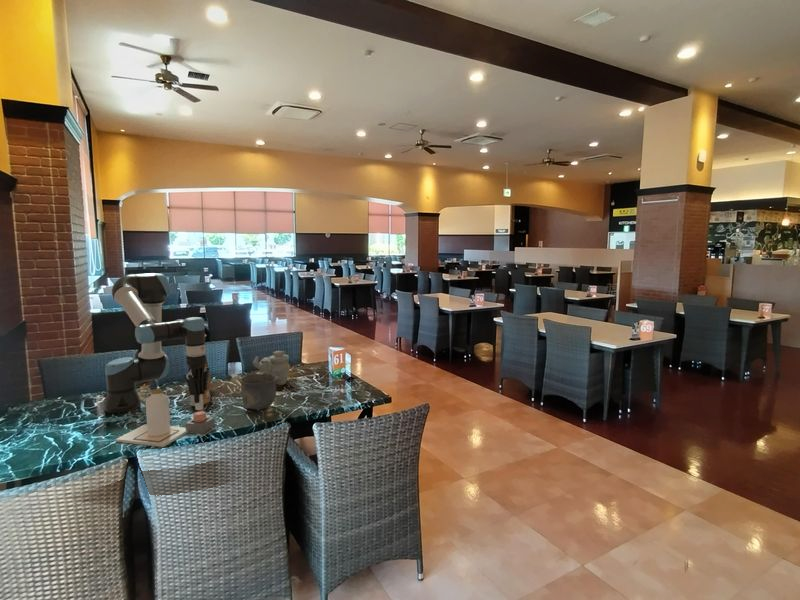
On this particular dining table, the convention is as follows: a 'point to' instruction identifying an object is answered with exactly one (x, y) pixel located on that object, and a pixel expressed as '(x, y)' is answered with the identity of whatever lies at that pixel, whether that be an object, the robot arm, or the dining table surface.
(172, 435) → the colouring board
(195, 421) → the button
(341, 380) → the dining table surface
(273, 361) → the teapot
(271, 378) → the cup
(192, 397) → the small box
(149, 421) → the potion bottle
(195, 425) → the button housing
